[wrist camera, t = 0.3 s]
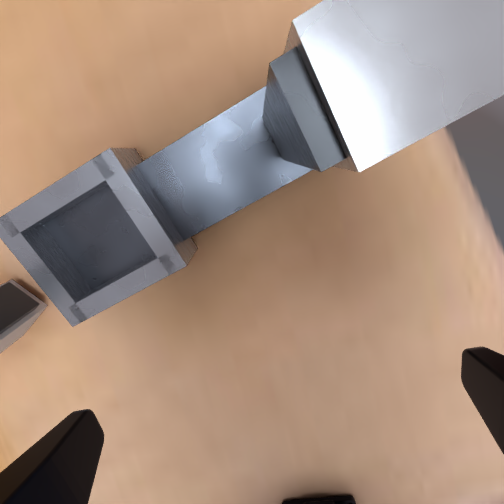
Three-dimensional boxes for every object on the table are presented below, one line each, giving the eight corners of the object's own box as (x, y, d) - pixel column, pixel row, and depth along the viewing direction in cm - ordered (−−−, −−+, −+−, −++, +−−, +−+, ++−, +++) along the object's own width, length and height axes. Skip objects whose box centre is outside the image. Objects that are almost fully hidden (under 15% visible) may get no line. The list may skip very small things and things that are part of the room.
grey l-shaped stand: (362, 158, 20) (583, 174, 6) (99, 301, 23) (-120, 508, 10) (310, 38, 18) (469, -299, 4) (31, 212, 21) (-357, 318, 8)
